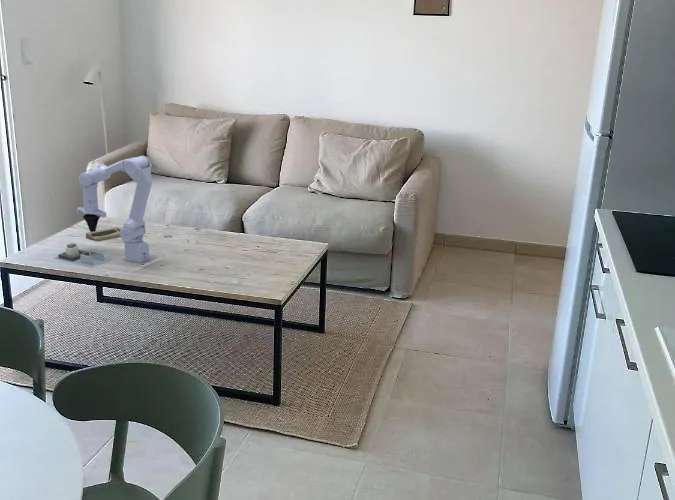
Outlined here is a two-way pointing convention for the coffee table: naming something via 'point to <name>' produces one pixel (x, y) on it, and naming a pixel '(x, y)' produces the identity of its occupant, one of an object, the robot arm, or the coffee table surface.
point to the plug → (72, 249)
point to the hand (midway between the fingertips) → (92, 231)
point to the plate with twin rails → (91, 257)
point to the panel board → (95, 261)
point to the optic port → (73, 258)
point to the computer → (104, 234)
